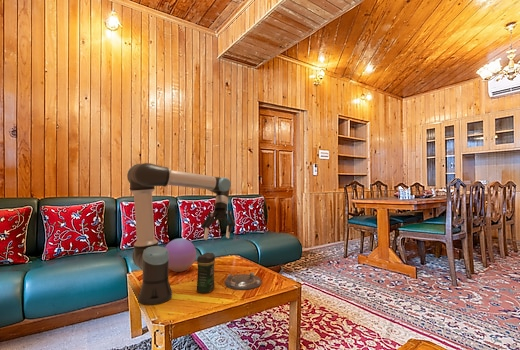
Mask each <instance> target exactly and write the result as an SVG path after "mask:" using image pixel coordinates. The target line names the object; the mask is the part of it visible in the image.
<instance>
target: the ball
mask: <svg viewBox="0 0 520 350" xmlns="http://www.w3.org/2000/svg"><path fill="white" fill-rule="evenodd" d="M164 247H165V248H166V249H167V250H168V252H169V270H170V271H172V272H175V273H180V272H184V271H186V270H188V269H190V267H192V266H193V264H194V263H195V261H196V258H197V250H196V247H195V245H194V243H192V241H190V240H188V239H187V238H183V237H181V238H178V237H177V238H174V239H172V240H171V241H169V242H168V243H167V244H166V245H165V246H164Z"/></svg>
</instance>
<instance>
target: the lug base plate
mask: <svg viewBox="0 0 520 350" xmlns="http://www.w3.org/2000/svg"><path fill="white" fill-rule="evenodd" d="M232 274H233V273H229V274H227V277H226V278H225V280H224V286H225V287H226V288H229V289H231V290H236V291H248V290H255V289H257V288H259V287H260V286H261V285H262V279H261V278H260V277H259V276H257V275H255V272H249V273H247V274H245V273H244V274H243V273H242V274H241V273H239V274H233V275H232Z"/></svg>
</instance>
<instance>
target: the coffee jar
mask: <svg viewBox="0 0 520 350" xmlns="http://www.w3.org/2000/svg"><path fill="white" fill-rule="evenodd" d="M196 262H197V276H196V277H197V279H196V292H198V293H201V294H207V293H210V292H212V291H213V290H214V289H215V287H216V286H215V285H216V283H215V264H216V256H215V254H214V253H213V252H205V253H203V254H200V255H199V256H197V261H196Z"/></svg>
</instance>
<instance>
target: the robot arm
mask: <svg viewBox="0 0 520 350" xmlns="http://www.w3.org/2000/svg"><path fill="white" fill-rule="evenodd" d="M126 177H127V180H128V183H129V188H130V189H129V191H130V192H131V193H132V194H133V201H134V202H133V203H134V215H135V218H134V219H135V231H136V232H135V233H136V235H135V236H136V241H135V242H134V243H133V251H132V255H131V257H132V261H133V264H134V265H135V266H136V267H138V268H139V269H141V271H142V285H141V287H140V291H139V293H138V299H137V300H138V303H140V304H142V305H146V306H152V305H153V306H154V305H160V304H163V303H165V302H168V301H169V300H171V299H172V298H173V290H172V287H171V284H170V282H169V275H170V274H169V270H170V269H169V252H168V250H167V249H166V248H165V247H166V246H160V245H159V241H158V240H157V239H156V237H155V221H154V208H153V206H154V205H153V192H154V191H155V189H156V187H165V188H166V187H167V186H173V187H174V186H175V187H183V188H191V189H200V190H201V189H202V190H207V191H209V192H211V193H213V194H215V201H214V207H213V212H211V211H209V212H208V215H207V216H206V218H205V220H204V221H203V223H202V224H201V226H200V227H201V228H202V229H203V234H204V235H203V240H205V241H208V237H209V231H210V227H211V226H212V225H213V224H214V223H215V222H216V221H217V220H218V221H219V220H224V221H225V222H226V223H227V226H226V233H225V238H226V239H230V233H231V232H232V229H233V227H235V226H236V223H235V219H234V217H233V215H232V211H231V210H230V209H228V204H229V196H230V190H231V186H232V182H231V180H230V179H229V178H227V177H224V176H223V177H219V176H212V175H207V174H199V173H195V172H188V171H180V170H173V169H170V167H167V166H162V165H158V164H154V163H150V162H143V163H136V164H134V165H133V166H131V167H130V168H129V169H128V171H127V173H126ZM226 215H228V218H227V217H226ZM228 219H229V220H230V221H229V220H228Z"/></svg>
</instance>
